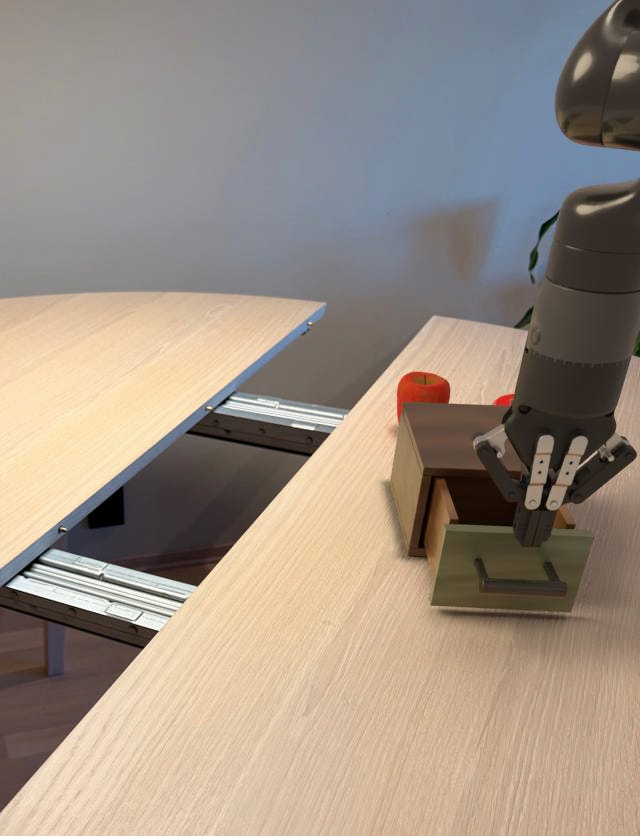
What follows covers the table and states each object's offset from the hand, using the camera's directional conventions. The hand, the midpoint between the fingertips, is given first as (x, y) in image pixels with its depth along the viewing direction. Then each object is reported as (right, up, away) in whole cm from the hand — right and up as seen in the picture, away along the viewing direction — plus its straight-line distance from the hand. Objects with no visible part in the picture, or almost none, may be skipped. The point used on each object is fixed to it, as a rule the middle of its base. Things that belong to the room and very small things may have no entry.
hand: (527, 542), depth 83 cm
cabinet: (+1, +5, +21) cm, 22 cm away
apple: (+1, +17, +39) cm, 43 cm away
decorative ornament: (+15, +18, +40) cm, 46 cm away
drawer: (0, -3, +10) cm, 10 cm away
